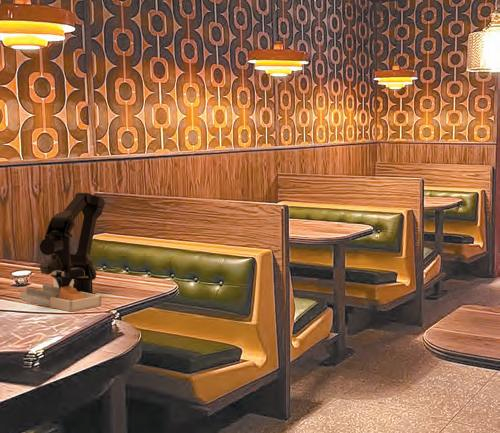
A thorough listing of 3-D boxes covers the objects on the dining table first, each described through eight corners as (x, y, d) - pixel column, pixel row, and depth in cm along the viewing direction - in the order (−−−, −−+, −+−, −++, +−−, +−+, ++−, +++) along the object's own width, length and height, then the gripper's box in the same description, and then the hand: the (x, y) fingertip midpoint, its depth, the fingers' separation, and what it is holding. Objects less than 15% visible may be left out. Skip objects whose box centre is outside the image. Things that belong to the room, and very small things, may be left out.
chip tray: (81, 300, 257) (80, 291, 257) (101, 305, 249) (101, 295, 249) (50, 306, 247) (50, 297, 247) (70, 311, 239) (70, 301, 239)
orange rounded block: (68, 295, 253) (70, 285, 252) (75, 299, 251) (76, 289, 250) (59, 297, 250) (60, 287, 249) (65, 301, 248) (67, 291, 247)
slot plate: (50, 294, 269) (50, 283, 269) (80, 300, 257) (80, 290, 257) (20, 299, 260) (20, 288, 259) (50, 306, 247) (49, 295, 247)
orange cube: (76, 290, 250) (83, 293, 248) (75, 301, 251) (82, 304, 248) (67, 292, 247) (73, 295, 245) (66, 302, 248) (73, 306, 245)
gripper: (27, 251, 251) (29, 294, 253) (57, 256, 239) (59, 301, 241) (54, 247, 260) (55, 289, 261) (85, 252, 247) (86, 296, 249)
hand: (63, 294), depth 253 cm, fingers closed
